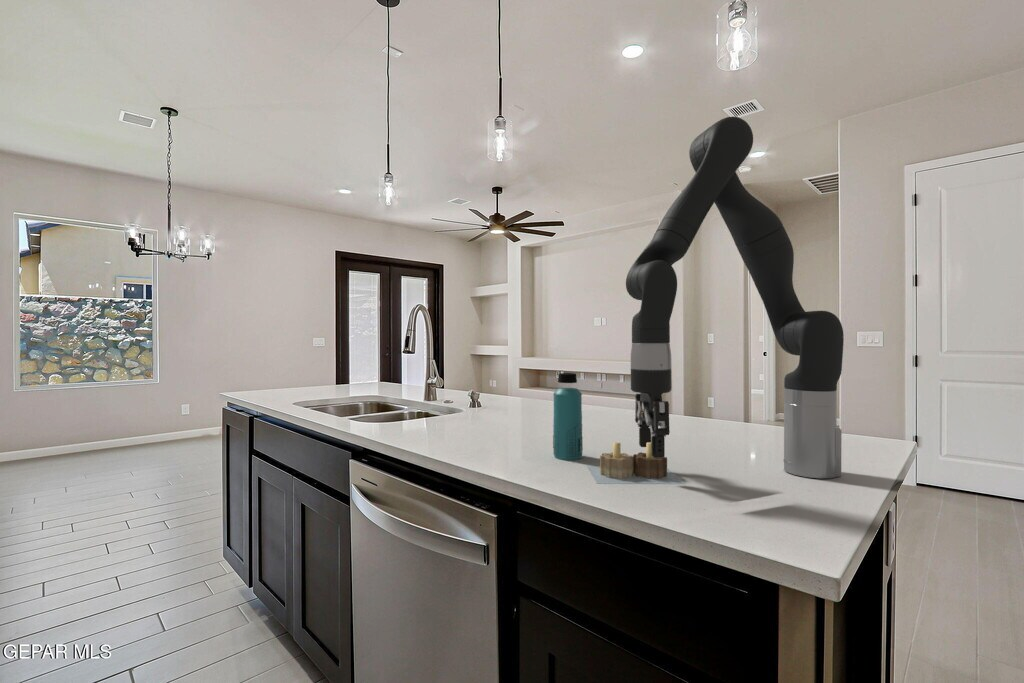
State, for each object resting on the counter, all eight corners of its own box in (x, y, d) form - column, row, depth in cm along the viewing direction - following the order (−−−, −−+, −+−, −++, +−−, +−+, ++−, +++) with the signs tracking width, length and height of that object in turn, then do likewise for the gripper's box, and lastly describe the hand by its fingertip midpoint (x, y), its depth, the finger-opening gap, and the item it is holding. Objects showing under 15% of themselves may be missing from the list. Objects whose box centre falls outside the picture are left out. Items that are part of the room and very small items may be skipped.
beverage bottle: (581, 468, 103) (582, 374, 103) (550, 466, 105) (551, 373, 104) (583, 460, 110) (583, 372, 110) (554, 459, 111) (554, 371, 111)
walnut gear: (660, 470, 96) (661, 452, 96) (670, 479, 90) (670, 460, 90) (630, 470, 96) (630, 452, 96) (638, 478, 90) (638, 459, 90)
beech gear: (620, 468, 97) (620, 451, 97) (639, 476, 91) (639, 458, 91) (594, 471, 95) (594, 453, 95) (612, 480, 89) (612, 461, 89)
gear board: (665, 473, 99) (665, 437, 99) (686, 492, 87) (686, 450, 87) (586, 473, 99) (586, 436, 99) (596, 491, 87) (597, 450, 87)
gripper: (683, 369, 86) (684, 460, 86) (659, 364, 100) (659, 443, 100) (641, 369, 86) (641, 461, 86) (622, 365, 100) (623, 443, 100)
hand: (651, 451), depth 93 cm, fingers open, 8 cm apart
